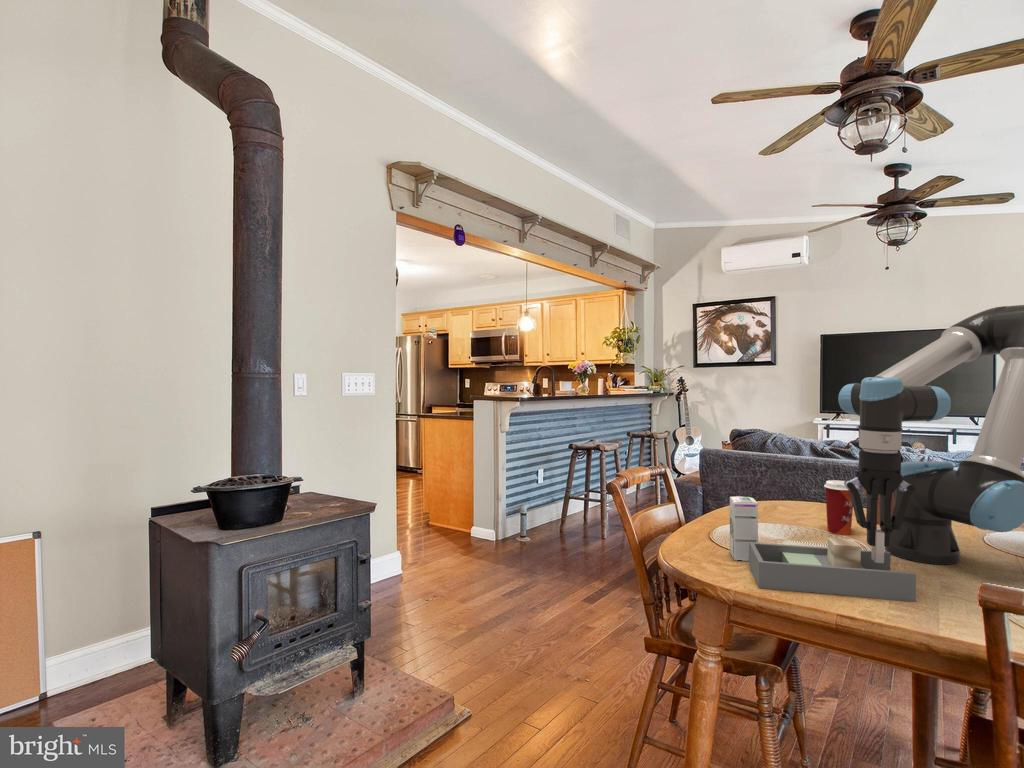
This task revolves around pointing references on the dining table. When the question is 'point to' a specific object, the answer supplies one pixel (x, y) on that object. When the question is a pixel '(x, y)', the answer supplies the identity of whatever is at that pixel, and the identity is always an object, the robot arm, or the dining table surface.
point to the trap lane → (827, 573)
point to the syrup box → (743, 526)
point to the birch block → (844, 553)
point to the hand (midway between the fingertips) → (877, 560)
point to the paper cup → (838, 507)
